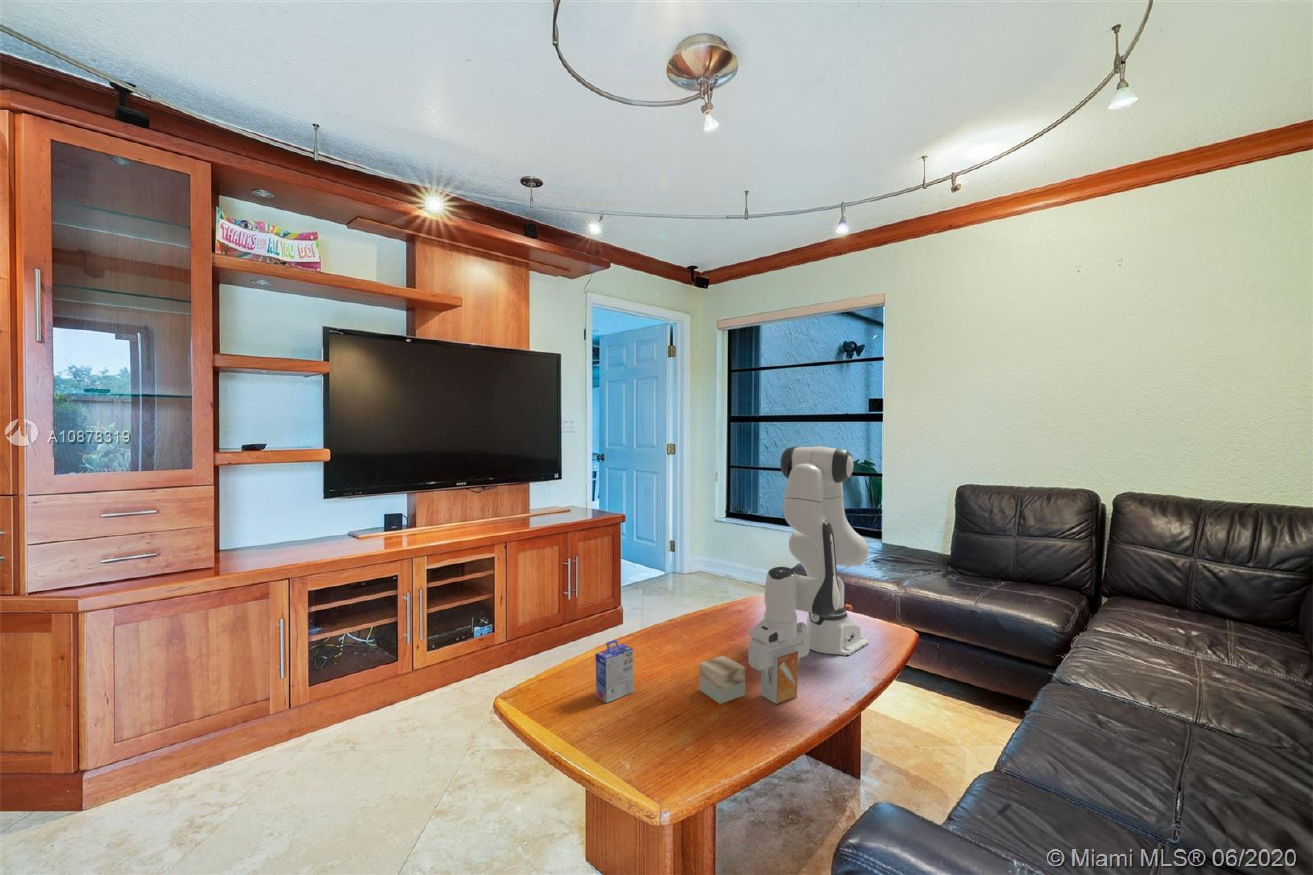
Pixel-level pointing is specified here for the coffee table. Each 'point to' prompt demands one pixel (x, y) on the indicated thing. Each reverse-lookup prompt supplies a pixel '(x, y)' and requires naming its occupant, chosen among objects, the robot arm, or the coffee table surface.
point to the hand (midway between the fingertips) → (779, 677)
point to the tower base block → (722, 691)
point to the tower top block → (722, 672)
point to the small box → (782, 678)
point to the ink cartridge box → (614, 672)
